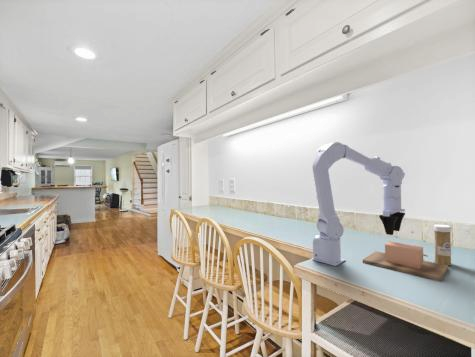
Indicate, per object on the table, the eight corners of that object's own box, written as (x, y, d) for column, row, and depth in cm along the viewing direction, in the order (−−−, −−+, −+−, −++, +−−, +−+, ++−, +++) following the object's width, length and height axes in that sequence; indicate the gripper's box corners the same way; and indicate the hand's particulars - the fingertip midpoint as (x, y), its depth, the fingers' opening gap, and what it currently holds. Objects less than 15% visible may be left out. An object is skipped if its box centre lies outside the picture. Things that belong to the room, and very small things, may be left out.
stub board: (362, 262, 87) (362, 251, 87) (375, 253, 96) (375, 243, 96) (440, 281, 71) (440, 267, 71) (448, 268, 79) (448, 256, 79)
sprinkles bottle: (444, 266, 81) (443, 227, 81) (431, 261, 85) (430, 224, 85) (455, 265, 82) (454, 226, 82) (441, 260, 86) (440, 223, 86)
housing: (385, 261, 85) (384, 244, 85) (389, 257, 88) (389, 241, 88) (419, 268, 78) (419, 250, 78) (423, 264, 81) (423, 246, 81)
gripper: (398, 199, 83) (399, 238, 84) (409, 196, 93) (410, 230, 93) (376, 198, 89) (377, 234, 89) (389, 195, 98) (390, 228, 98)
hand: (392, 232), depth 91 cm, fingers open, 7 cm apart
